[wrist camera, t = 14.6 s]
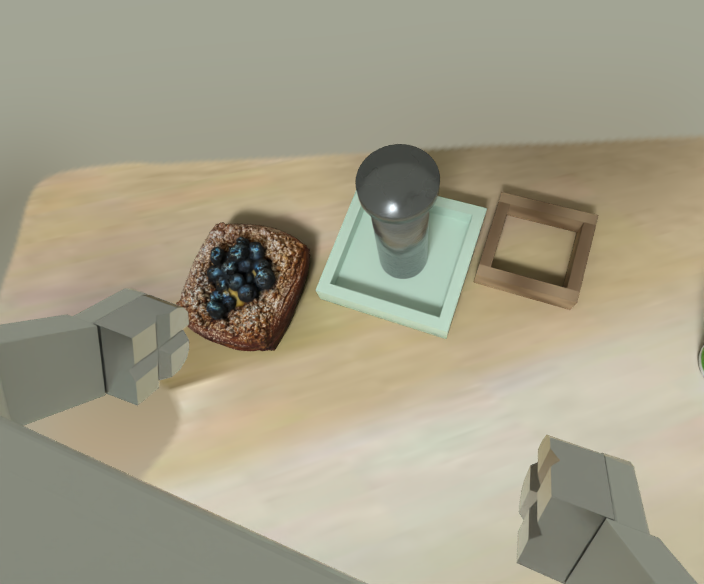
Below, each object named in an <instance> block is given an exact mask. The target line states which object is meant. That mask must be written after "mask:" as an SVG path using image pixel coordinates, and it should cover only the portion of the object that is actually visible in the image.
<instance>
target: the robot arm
mask: <svg viewBox="0 0 704 584" xmlns="http://www.w3.org/2000/svg"><path fill="white" fill-rule="evenodd" d="M188 325H189V319H188V312H187V311H186V310H185V309H184V308H183V307H181V306H178V305H176V304H173V303H170V302H168V301H165V300H162V299H160V298H157V297H154V296H152V295H148V294H146V293H143V292H140V291H137V290H135V289H123V290H121V291H119V292H117V293H116V294H114V295H112V296H110V297H108V298H106V299H104V300H102V301H101V302H99V303H97V304H95V305H93V306H91V307H89V308H87V309H86V310H84V311H82V312H80V313H78V314H76V315H74V316H70V315H61V316H54V317H48V318H41V319H35V320H28V321H22V322H15V323H9V324H2V325H0V584H367V583H365V582H363V581H361V580H359V579H356V578H354V577H352V576H350V575H348V574H345V573H343V572H341V571H339V570H337V569H335V568H332V567H330V566H328V565H326V564H324V563H321V562H319V561H317V560H315V559H313V558H310V557H308V556H306V555H304V554H302V553H300V552H297V551H295V550H293V549H291V548H289V547H286V546H284V545H282V544H280V543H278V542H276V541H273V540H271V539H269V538H267V537H265V536H262V535H260V534H258V533H256V532H254V531H251V530H249V529H247V528H245V527H243V526H241V525H238V524H236V523H234V522H232V521H230V520H227V519H225V518H223V517H221V516H219V515H217V514H214V513H212V512H210V511H208V510H206V509H203V508H201V507H199V506H197V505H195V504H192V503H190V502H188V501H186V500H184V499H182V498H179V497H177V496H175V495H173V494H171V493H168V492H166V491H164V490H162V489H160V488H158V487H155V486H153V485H151V484H149V483H147V482H144V481H142V480H140V479H138V478H136V477H133V476H131V475H129V474H127V473H125V472H123V471H120V470H118V469H116V468H114V467H112V466H109V465H107V464H105V463H103V462H101V461H98V460H96V459H94V458H92V457H90V456H88V455H85V454H83V453H81V452H79V451H77V450H74V449H72V448H70V447H68V446H66V445H63V444H61V443H59V442H57V441H55V440H52V439H50V438H48V437H46V436H44V435H41V434H39V433H37V432H35V431H33V430H31V429H28V428H26V427H24V425H27V424H29V423H32V422H35V421H37V420H40V419H43V418H45V417H48V416H51V415H54V414H56V413H59V412H62V411H64V410H67V409H70V408H73V407H75V406H78V405H80V404H83V403H86V402H89V401H91V400H94V399H97V398H100V397H102V396H105V395H106V394H109V395H112V396H114V397H117V398H119V399H122V400H124V401H127V402H130V403H132V404H135V405H139V404H140V403H142V402H143V401H144V400H145V399H146V398H147V397H149V396H150V395H151V394H152V393H153V392H154V391H156V390H157V389H158V388H159V381H160V380H162V379H166V378H169V377H172V376H173V375H174V374H176V373H177V372H178V371H179V370H180V369H181V367H182V365H183V364H184V362H185V360H186V359H187V355H188V351H189V339H188V338H187V336H186V334H185V332H184V329H185V328H186V327H187V326H188ZM105 393H106V394H105ZM519 513H520V515H521V517H522V518H523V522H522V524H521V526H520V528H519V531H518V541H517V563H518V564H520V565H523V566H525V567H527V568H529V569H532V570H534V571H536V572H538V573H541V574H543V575H545V576H547V577H550V578H552V579H554V580H556V581H559V582H561V583H563V584H697V582H696V581H695V580H694V579H693V578H692V576H691V575H690V574H689V573H688V572H687V571H686V569H685V568H684V567H683V566H682V565H681V563H680V562H679V561H678V560H677V559H676V558H675V556H674V555H673V554H672V553H671V552H670V551H669V549H668V548H667V547H666V546H665V545H664V543H663V542H662V541H661V540H660V539H659V538H658V537H655V536H652V535H650V533H649V529H648V524H647V520H646V516H645V512H644V508H643V503H642V499H641V495H640V491H639V486H638V482H637V478H636V474H635V470H634V466H633V465H632V464H631V462H629V461H626V460H623V459H620V458H617V457H614V456H611V455H608V454H604V453H599V452H596V451H593V450H590V449H587V448H584V447H581V446H578V445H575V444H573V443H570V442H567V441H564V440H561V439H558V438H555V437H552V436H549V435H546V436H545V438H544V439H543V440H542V442H541V444H540V446H539V449H538V462H537V463H535V464H532V465H530V468H529V470H528V472H527V475H526V477H525V480H524V483H523V487H522V490H521V496H520V503H519Z"/></svg>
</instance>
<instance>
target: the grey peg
mask: <svg viewBox="0 0 704 584" xmlns="http://www.w3.org/2000/svg"><path fill="white" fill-rule="evenodd" d="M439 185H440V174H439V170H438V167H437V165H436V163H435V161H434V160H433V159H432V157H431V156H430V155H429V154H427V153H426V152H425V151H423V150H421V149H419V148H417V147H414V146H411V145H405V144H395V145H389V146H385V147H382V148H380V149H378V150H376V151H374V152H373V153H371V154H370V155H369V156H368V157H367V158H366V159H365V160H364V161H363V162H362V164H361V165H360V167H359V169H358V172H357V175H356V190H357V195H358V199H359V202H360V204H361V206H362V207H363V209H364V210H365V211H366V213H367V214H369V215H370V216H371V220H372V225H373V230H374V235H375V240H376V245H377V250H378V255H379V260H380V264H381V266H382V268H383V270H384V271H385V272H386V273H387V274H389V275H390V276H392V277H394V278H398V279H408V278H412V277H414V276H416V275H418V274H419V273H420V272H421V271H422V270H423V269H424V267H425V265H426V263H427V256H428V232H429V211H430V209H431V208H432V207H433V205H434V204H435V202H436V200H437V198H438V194H439Z"/></svg>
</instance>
